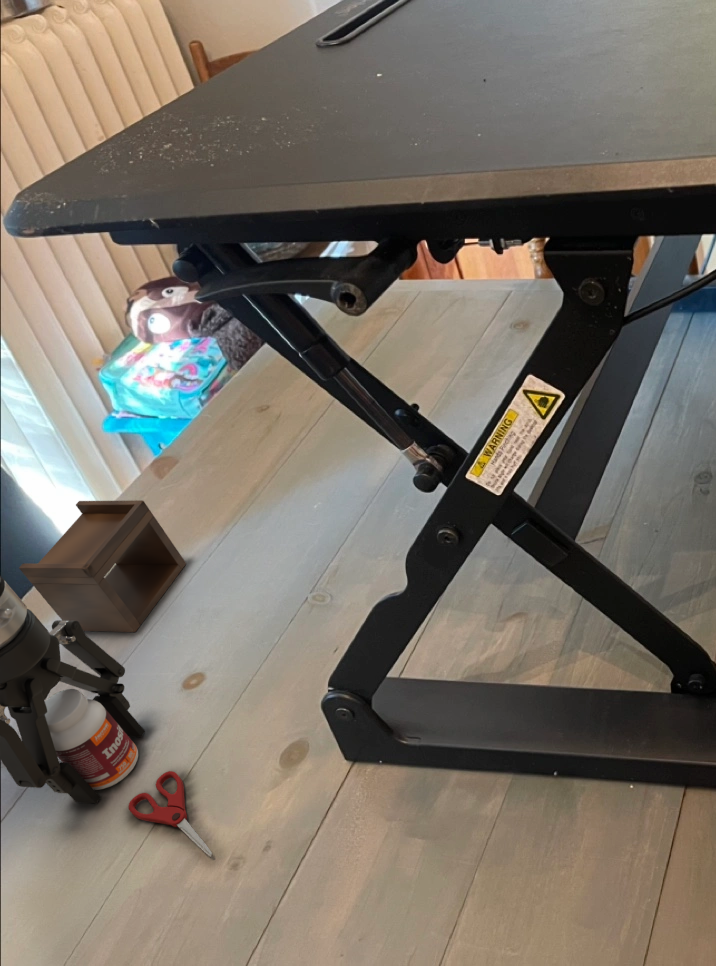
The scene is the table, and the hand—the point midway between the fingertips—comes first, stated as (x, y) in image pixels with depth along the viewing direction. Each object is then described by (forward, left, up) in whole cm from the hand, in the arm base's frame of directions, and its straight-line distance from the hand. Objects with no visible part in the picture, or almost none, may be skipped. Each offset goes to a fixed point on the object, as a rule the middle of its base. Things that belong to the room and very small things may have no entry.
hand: (111, 765), depth 118 cm
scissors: (+13, -6, 0) cm, 14 cm away
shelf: (-15, +25, 0) cm, 29 cm away
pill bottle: (0, 0, 0) cm, 0 cm away
